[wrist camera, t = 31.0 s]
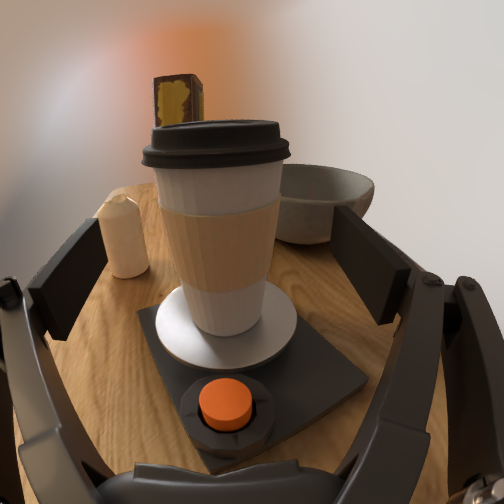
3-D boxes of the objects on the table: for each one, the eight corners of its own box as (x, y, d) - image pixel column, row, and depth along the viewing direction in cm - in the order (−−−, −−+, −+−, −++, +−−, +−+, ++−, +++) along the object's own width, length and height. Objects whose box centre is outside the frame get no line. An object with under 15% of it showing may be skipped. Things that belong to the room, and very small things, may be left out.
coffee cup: (292, 292, 26) (304, 121, 19) (259, 370, 18) (264, 128, 11) (202, 272, 29) (190, 120, 21) (148, 332, 21) (106, 136, 14)
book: (208, 236, 44) (202, 72, 32) (156, 239, 44) (141, 79, 31) (212, 194, 63) (208, 85, 51) (175, 196, 63) (168, 88, 50)
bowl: (278, 204, 57) (280, 156, 52) (376, 230, 47) (385, 176, 42) (210, 241, 43) (206, 177, 38) (338, 287, 32) (352, 207, 27)
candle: (123, 256, 39) (109, 191, 34) (155, 259, 38) (144, 190, 33) (104, 277, 34) (86, 206, 29) (138, 281, 33) (122, 205, 28)
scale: (138, 319, 27) (131, 297, 26) (253, 282, 34) (253, 260, 32) (211, 476, 14) (204, 464, 12) (365, 386, 20) (377, 364, 19)
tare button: (195, 402, 17) (190, 389, 16) (237, 385, 18) (236, 371, 17) (216, 439, 14) (213, 428, 13) (261, 418, 16) (262, 406, 15)
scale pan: (143, 299, 26) (141, 294, 25) (250, 266, 31) (250, 262, 31) (186, 397, 17) (184, 392, 16) (325, 333, 22) (326, 328, 22)
